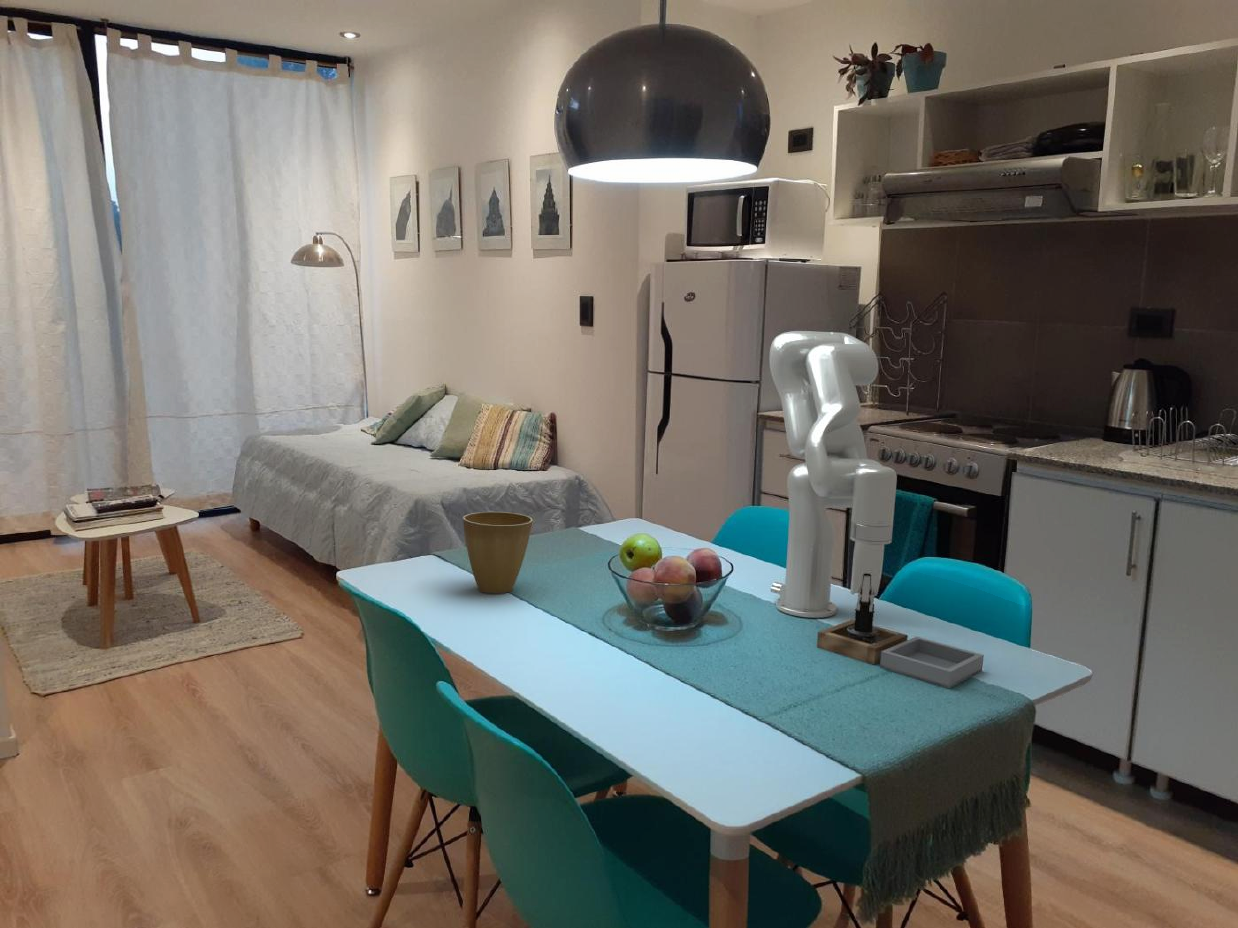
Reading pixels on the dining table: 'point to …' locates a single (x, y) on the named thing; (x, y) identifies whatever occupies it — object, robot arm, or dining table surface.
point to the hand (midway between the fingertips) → (863, 626)
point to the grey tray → (932, 662)
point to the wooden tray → (858, 642)
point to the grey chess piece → (863, 636)
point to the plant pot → (496, 548)
